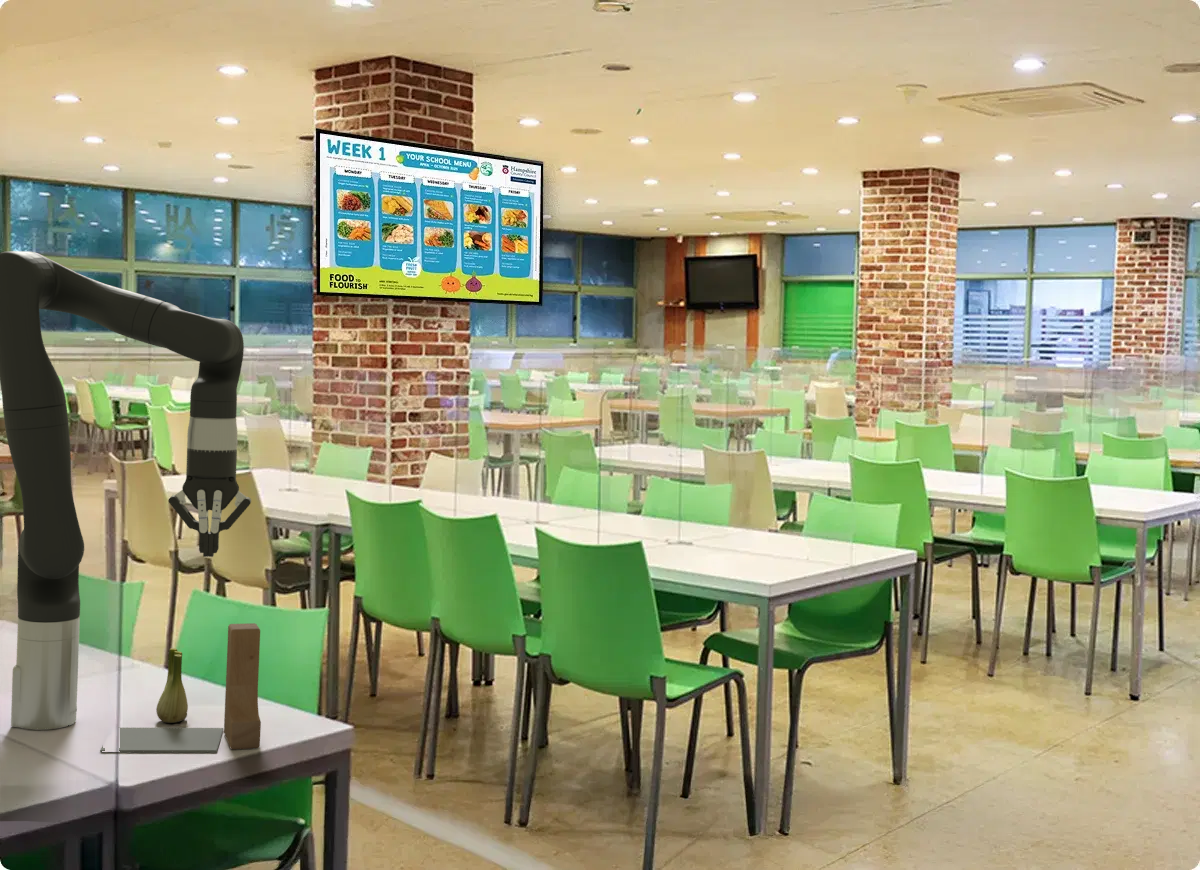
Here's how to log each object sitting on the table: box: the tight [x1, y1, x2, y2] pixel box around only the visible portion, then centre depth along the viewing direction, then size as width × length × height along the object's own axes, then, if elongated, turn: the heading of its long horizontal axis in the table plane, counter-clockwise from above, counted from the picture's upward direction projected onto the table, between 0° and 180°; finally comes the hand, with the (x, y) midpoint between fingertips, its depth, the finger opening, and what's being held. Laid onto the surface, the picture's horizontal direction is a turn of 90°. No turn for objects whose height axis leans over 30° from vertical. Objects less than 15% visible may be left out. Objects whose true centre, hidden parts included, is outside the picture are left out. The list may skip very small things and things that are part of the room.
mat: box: [99, 727, 224, 754], centre depth 211 cm, size 17×12×1 cm
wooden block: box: [223, 623, 262, 751], centre depth 212 cm, size 9×4×18 cm, turn 22°
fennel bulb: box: [155, 647, 189, 724], centre depth 221 cm, size 6×5×12 cm
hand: (208, 555), depth 212 cm, fingers closed
